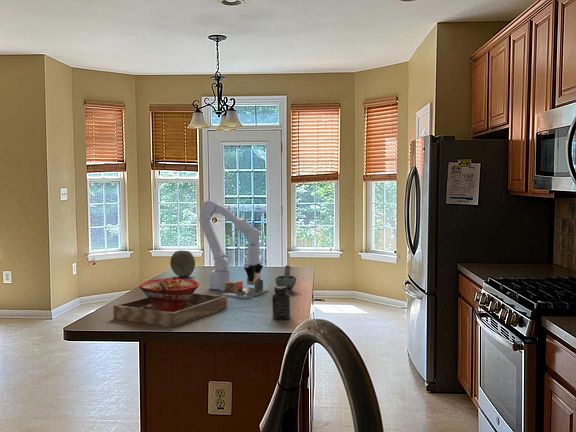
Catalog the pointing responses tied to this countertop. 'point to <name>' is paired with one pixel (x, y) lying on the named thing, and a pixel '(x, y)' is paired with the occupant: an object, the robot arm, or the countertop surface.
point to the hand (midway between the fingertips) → (253, 280)
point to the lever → (239, 288)
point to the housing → (256, 276)
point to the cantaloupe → (182, 263)
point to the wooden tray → (202, 307)
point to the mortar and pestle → (286, 279)
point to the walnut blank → (230, 286)
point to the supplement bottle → (281, 303)
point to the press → (256, 288)
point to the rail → (247, 296)
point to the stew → (168, 294)
